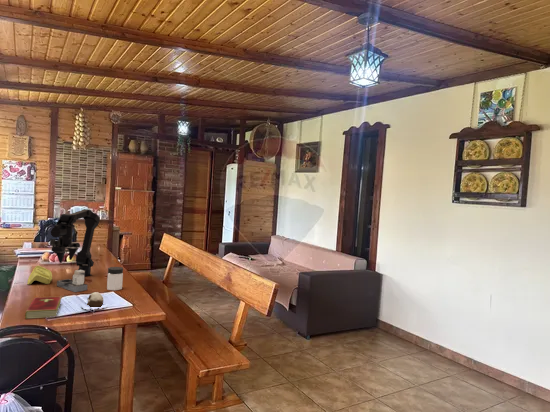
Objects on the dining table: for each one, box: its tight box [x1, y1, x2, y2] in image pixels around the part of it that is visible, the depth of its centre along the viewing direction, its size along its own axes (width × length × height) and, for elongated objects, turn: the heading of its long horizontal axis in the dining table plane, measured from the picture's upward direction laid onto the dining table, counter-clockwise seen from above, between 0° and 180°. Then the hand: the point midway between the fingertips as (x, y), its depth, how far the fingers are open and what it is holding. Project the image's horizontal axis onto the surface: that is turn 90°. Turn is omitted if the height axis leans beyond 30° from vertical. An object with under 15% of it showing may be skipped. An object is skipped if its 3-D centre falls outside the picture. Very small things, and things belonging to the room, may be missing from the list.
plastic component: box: [26, 265, 53, 286], centre depth 230 cm, size 20×7×10 cm
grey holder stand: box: [56, 274, 88, 293], centre depth 220 cm, size 7×18×8 cm, turn 59°
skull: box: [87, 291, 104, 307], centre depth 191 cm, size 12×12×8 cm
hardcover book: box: [24, 295, 63, 319], centre depth 181 cm, size 12×21×4 cm, turn 23°
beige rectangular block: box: [73, 269, 86, 277], centre depth 233 cm, size 4×5×7 cm
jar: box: [106, 266, 124, 291], centre depth 226 cm, size 9×8×12 cm
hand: (65, 261), depth 231 cm, fingers open, 9 cm apart
